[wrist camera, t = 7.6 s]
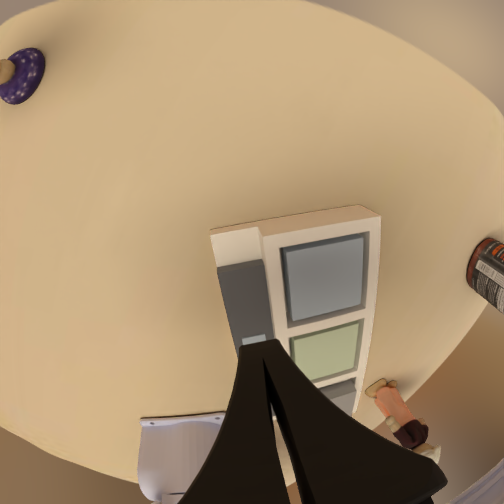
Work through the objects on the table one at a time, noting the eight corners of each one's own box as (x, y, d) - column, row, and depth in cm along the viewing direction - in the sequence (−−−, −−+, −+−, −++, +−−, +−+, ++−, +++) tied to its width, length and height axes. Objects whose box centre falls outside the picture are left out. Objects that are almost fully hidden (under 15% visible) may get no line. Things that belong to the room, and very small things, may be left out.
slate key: (287, 308, 19) (292, 321, 17) (280, 243, 17) (286, 252, 15) (351, 293, 19) (360, 303, 18) (353, 230, 17) (363, 237, 16)
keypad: (255, 416, 25) (259, 437, 23) (210, 229, 17) (209, 246, 15) (346, 393, 26) (356, 412, 23) (359, 204, 18) (381, 216, 15)
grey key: (298, 421, 23) (302, 433, 21) (297, 394, 21) (301, 407, 19) (345, 408, 23) (350, 418, 22) (350, 379, 21) (356, 390, 20)
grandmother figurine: (351, 399, 27) (394, 490, 15) (370, 376, 25) (423, 470, 14) (395, 397, 29) (438, 470, 17) (412, 376, 27) (462, 450, 16)
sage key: (292, 371, 21) (296, 383, 20) (289, 327, 19) (294, 340, 18) (347, 356, 22) (353, 367, 20) (350, 312, 20) (358, 323, 18)
